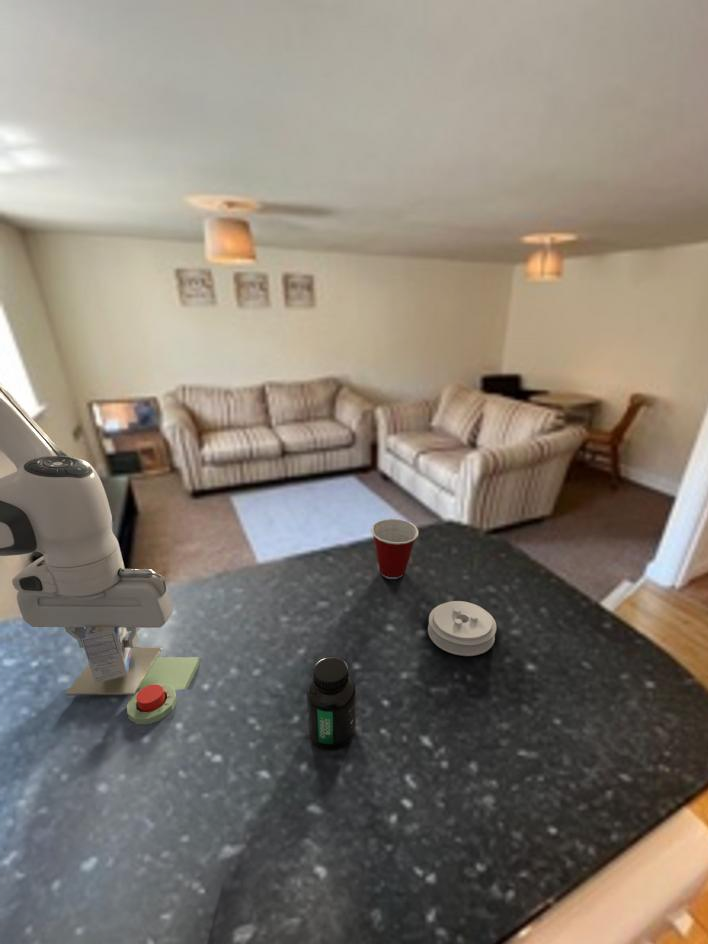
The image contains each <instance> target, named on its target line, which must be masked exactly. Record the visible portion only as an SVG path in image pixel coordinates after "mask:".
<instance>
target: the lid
mask: <svg viewBox="0 0 708 944" xmlns="http://www.w3.org/2000/svg"><path fill="white" fill-rule="evenodd" d="M427 633H428V636H429V638H430V640H431V642H432V643H433V644H434V645H436V647H437V648H439V649H441V650H442V651H445V652H447V653H449V654H453V655H456V656H461V657H462V656H463V657H473V656H478V655H482V654H485V653H487V652H488V651H490V649H491V648H492V647H493V646H494V643H495V640H496V638H495V637H496V633H497V623H496V620H495V619H494V617H493V615H491V614H490V613H489V612H488V611H487V610H486V609H484V608H483V607H481V606H479V605H477V604H475V603H472V602H468V601H463V600H454V601H447V602H443V603H441V604H439V605H437V606H436V607H434V608H432V610H431V611H430V612H429V616H428V625H427Z"/></svg>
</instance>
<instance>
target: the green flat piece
mask: <svg viewBox="0 0 708 944" xmlns="http://www.w3.org/2000/svg"><path fill="white" fill-rule="evenodd" d="M200 663H201V659H200V657H197V656H196V657H193V656H191V657H189V656H188V657H185V656H184V657H182V656H181V657H174V656H173V657H171V656H169V657H168V656H167V657H166V656H163V657H162V656H160V657H159V656H158V657H157V658H156V660H155V662H154V663H153V665H152V667H151V668H150V670H149V672H148V673H147V675H146V677H145V678H144V680H143V681H142V683H141V685H140V686H139V688H138V690H137V691H136V693H135V695H131V698H130V699H129V701H128V702H127V704H126V712H127V717H128V720H129V721H131V722H133V723H134V724H136V725H151V724H154V723H156V722H159V721H161V720H163V719H165V718H166V717H168V715H169V714H170V713H172V712H173V711H174V709H175V707H176V706H177V703H178V698H177V693H176V690H188V689H189V687H190V685H191V684H192V683H191V682H192V680H193V679H194V676H195V674H196V672H197V670H198V668H199V665H200ZM154 684H156V685H160V686H162V687H163V690H164V694H165V701H164V703H163V705H162V706H161V707H159V708H158V709H156V710H154V711H151V712H143V711H141V710H140V709H139V707H138V703H137V700H136V696H137V694H138V692H139V691H140V690H141V689H143V688H144V687H146V686H149V685H154Z"/></svg>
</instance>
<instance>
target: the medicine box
mask: <svg viewBox="0 0 708 944" xmlns="http://www.w3.org/2000/svg"><path fill="white" fill-rule="evenodd" d="M84 628H85V631H84V634H83V637H82V644H83V647H84V648H83V650H84V653H85V657H86V659H87V662H88V664H89V665H90V668H91V671H92V674H93V677H94V680H95V682H96V683H98V682H103V681H107V680H111V679H115V678H119V677H123V676H127V675H128V669H129V663H130V657H131V651H132V648H124V644H123V641H122V639H123V638H124V637H125V636H126V634H127V633H128V632H127V630H126V628H121V627H84Z"/></svg>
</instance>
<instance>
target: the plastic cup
mask: <svg viewBox="0 0 708 944" xmlns="http://www.w3.org/2000/svg"><path fill="white" fill-rule="evenodd" d="M370 532H371V534H372V536H373V541H374V546H375V551H376V552H375V553H376V557H377V559H376V560H377V563H378V570H379V573H380V572H381V573H382V574H383V575H385V576H388V577H399V576H401V575H403V574H404V573H405V574H406V572H407V571H406V570H407V566H408V564H409V560H410V557H411V553H412V548H413V546H414V543H415V541H416V539H417V538H418V537H419V529H418V528H417V527H416V525H415V524H414V523H411V522H410V521H407V520H405V519H402V518H401V519H400V518H382V519H380V520H378V521H376V522H374V523H373V524H372V525H371V527H370ZM405 574H404V575H405Z"/></svg>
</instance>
